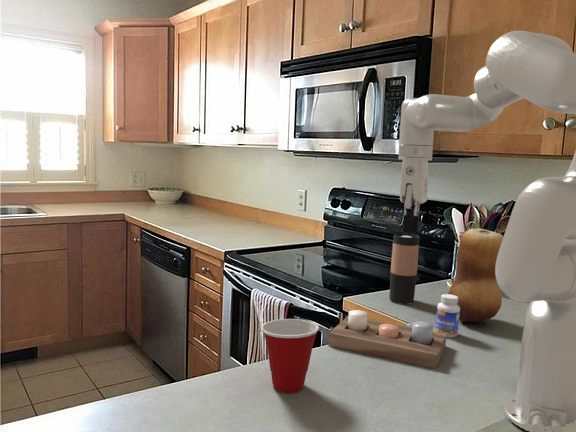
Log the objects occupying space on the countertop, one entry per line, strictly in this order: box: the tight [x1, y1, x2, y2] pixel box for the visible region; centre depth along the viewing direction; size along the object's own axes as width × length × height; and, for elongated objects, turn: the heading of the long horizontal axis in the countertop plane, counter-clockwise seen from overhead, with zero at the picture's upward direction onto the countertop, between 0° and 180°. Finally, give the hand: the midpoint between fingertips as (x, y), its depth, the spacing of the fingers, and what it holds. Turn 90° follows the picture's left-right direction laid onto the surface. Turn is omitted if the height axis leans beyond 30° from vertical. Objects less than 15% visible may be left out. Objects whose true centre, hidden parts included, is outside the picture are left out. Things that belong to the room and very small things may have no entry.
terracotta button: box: [379, 323, 399, 339], centre depth 119 cm, size 4×4×4 cm
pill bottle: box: [434, 293, 460, 338], centre depth 128 cm, size 5×5×10 cm
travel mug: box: [389, 232, 420, 305], centre depth 154 cm, size 8×8×20 cm
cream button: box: [348, 309, 368, 332], centre depth 122 cm, size 4×4×4 cm
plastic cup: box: [260, 318, 320, 394], centre depth 97 cm, size 11×11×12 cm
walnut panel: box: [328, 315, 447, 369], centre depth 119 cm, size 14×24×3 cm, turn 65°
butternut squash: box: [447, 227, 504, 324], centre depth 138 cm, size 14×13×25 cm
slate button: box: [411, 321, 434, 345], centre depth 116 cm, size 4×4×4 cm
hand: (410, 232), depth 121 cm, fingers closed
